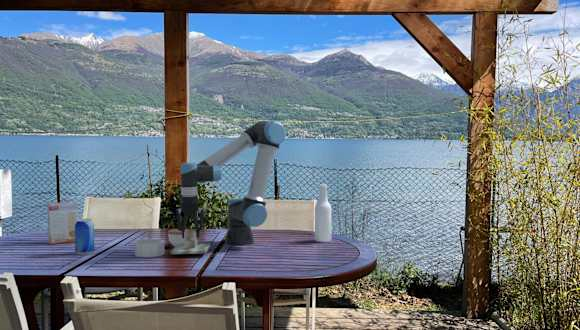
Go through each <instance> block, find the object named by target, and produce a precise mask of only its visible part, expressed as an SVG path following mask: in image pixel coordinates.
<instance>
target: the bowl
mask: <svg viewBox="0 0 580 330" xmlns="http://www.w3.org/2000/svg"><path fill="white" fill-rule="evenodd" d="M164 254H165V240H164V239H161V238H160V239H159V238H144V239H139V240H136V241H134V256H135V257H137V258H154V257H155V258H156V257H160V256H161V257H162V256H163V255H164Z"/></svg>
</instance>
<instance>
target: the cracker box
mask: <svg viewBox="0 0 580 330" xmlns="http://www.w3.org/2000/svg"><path fill="white" fill-rule="evenodd" d="M46 205H47V206H46V207H47V227H48V228H47V230H48V244H49V245H60V244H61V245H62V244H69V243H75V224H76V222H77V220H79V212H78V211H79V210H78V209H79V207H78V202H77V201H68V202H67V201H66V202H52V203H47V204H46Z"/></svg>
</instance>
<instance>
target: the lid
mask: <svg viewBox="0 0 580 330" xmlns="http://www.w3.org/2000/svg"><path fill="white" fill-rule="evenodd" d="M195 231H196V229H188V230H186V231H185V232H186V246H185V244H177V245H176V246H175V247H174V246H173V248H172V250H170V255H189V254H194V255H196V254H200V255H201V254H202V255H203V254H207V252H208V250H209V249H210V247H211V243H197V245H196V246H195V238H194V232H195Z"/></svg>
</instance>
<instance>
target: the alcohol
mask: <svg viewBox="0 0 580 330" xmlns="http://www.w3.org/2000/svg"><path fill="white" fill-rule="evenodd" d="M327 188H328V184H327V183H326V184H325V183H324V184H323V183H322V184H321V183H320V184H319V191H318V192H319V194H318V201H317V203H316V204H315V206H314V241H316V242H317V243H330V242H331V241H332V205H331V204H330V202H329V201H328V200H329V199H328V189H327Z"/></svg>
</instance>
